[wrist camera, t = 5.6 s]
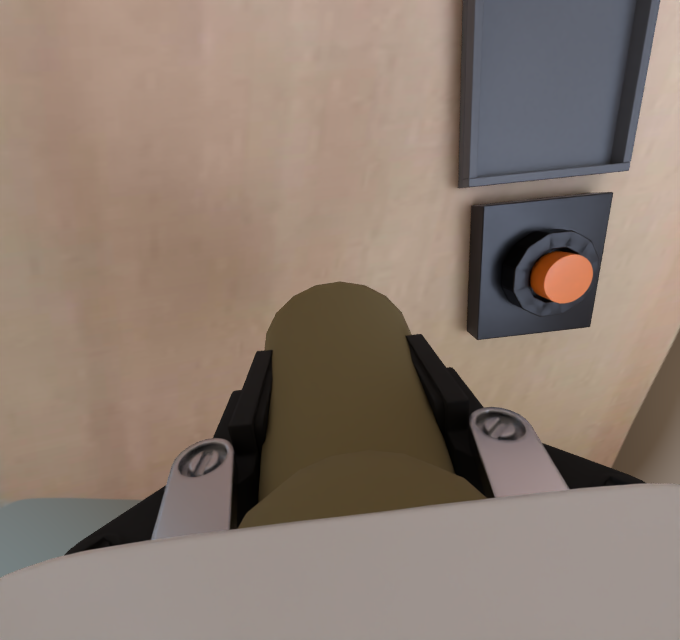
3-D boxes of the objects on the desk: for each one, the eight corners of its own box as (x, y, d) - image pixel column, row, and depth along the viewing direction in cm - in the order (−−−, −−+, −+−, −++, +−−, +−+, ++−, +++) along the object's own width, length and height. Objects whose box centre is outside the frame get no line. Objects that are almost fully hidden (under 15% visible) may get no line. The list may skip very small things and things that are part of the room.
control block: (470, 205, 27) (495, 206, 23) (591, 192, 27) (635, 191, 23) (466, 331, 31) (487, 349, 27) (572, 318, 31) (607, 335, 27)
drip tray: (463, -68, 21) (478, -93, 19) (649, -83, 22) (680, -110, 20) (458, 188, 26) (468, 187, 25) (607, 172, 27) (629, 170, 25)
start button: (531, 253, 25) (547, 257, 23) (578, 248, 25) (597, 251, 23) (527, 299, 26) (541, 306, 24) (572, 294, 26) (589, 300, 25)
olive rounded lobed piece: (435, 308, 13) (855, 717, 3) (380, 428, 15) (515, 929, 5) (287, 260, 12) (122, 633, 2) (248, 396, 14) (61, 947, 4)
